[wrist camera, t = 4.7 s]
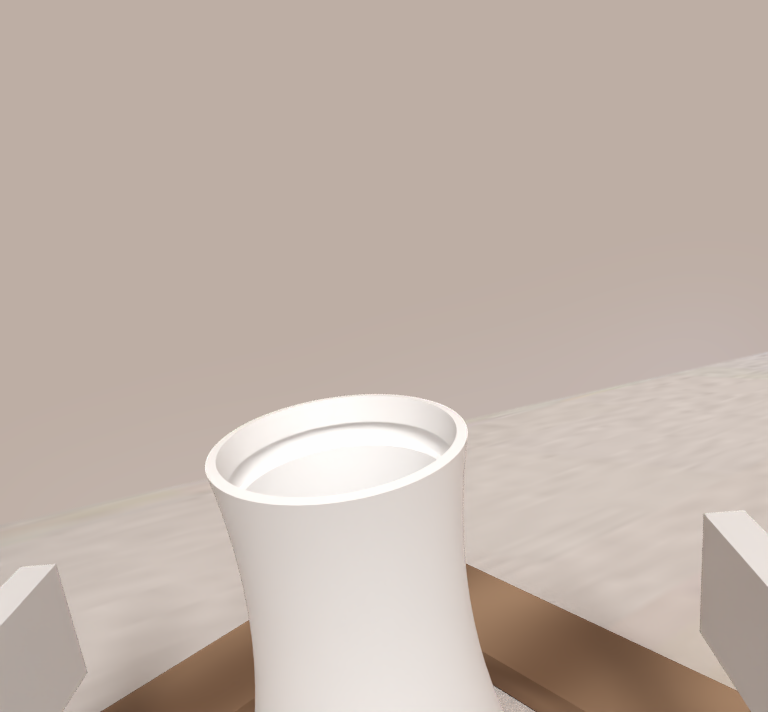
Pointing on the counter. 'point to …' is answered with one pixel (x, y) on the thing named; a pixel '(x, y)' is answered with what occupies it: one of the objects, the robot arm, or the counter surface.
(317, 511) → the vase
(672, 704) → the holder frame
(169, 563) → the counter surface
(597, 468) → the counter surface
